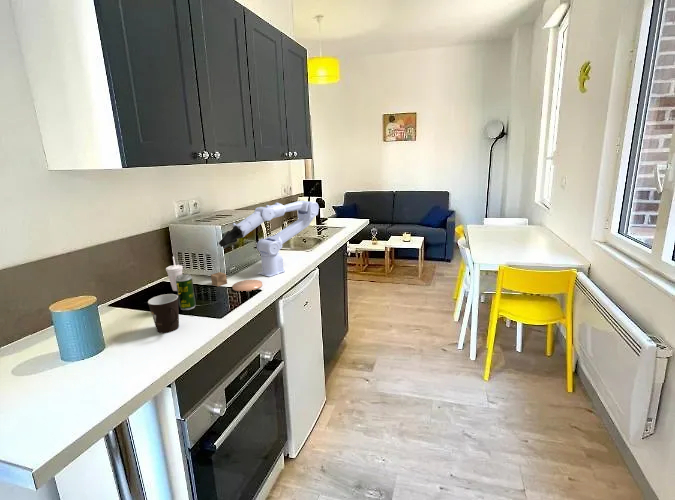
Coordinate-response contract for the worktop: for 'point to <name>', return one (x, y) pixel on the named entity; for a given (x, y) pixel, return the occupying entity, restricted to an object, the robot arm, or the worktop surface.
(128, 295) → the worktop surface
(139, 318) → the worktop surface
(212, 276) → the walnut block
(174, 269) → the smoothie
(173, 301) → the coffee mug
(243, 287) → the terracotta dish
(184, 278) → the beer can
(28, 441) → the worktop surface
